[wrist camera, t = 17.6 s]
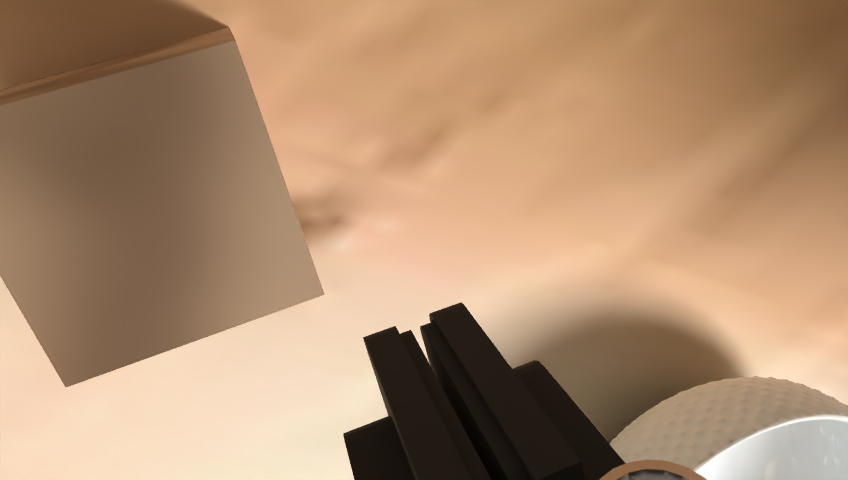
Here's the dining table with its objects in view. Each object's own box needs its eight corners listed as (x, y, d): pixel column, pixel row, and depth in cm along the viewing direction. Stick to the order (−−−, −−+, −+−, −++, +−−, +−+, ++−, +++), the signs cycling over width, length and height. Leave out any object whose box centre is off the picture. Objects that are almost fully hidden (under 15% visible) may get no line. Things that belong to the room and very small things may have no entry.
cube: (-86, 129, 14) (8, 87, 20) (65, 387, 17) (105, 280, 23) (234, 40, 15) (228, 27, 21) (324, 294, 18) (295, 217, 24)
